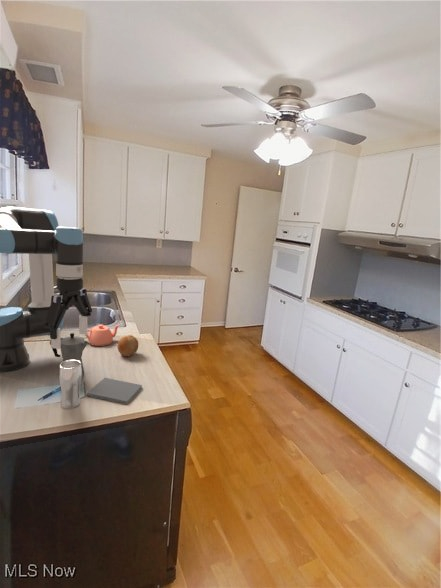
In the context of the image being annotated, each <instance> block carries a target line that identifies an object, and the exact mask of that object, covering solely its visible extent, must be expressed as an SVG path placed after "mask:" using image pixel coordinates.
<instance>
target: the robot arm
mask: <svg viewBox="0 0 441 588" xmlns="http://www.w3.org/2000/svg"><path fill="white" fill-rule="evenodd" d="M0 254H7V255H11V254H14V255H15V254H20V255H21V254H24V255H25V254H27V255H28V261H29V262H28V263H29V264H28V265H29V276H30V277H29V279H30V294H31V301H30V302H31V303H29V304H28V305H27V310H23V308H22V307H20V306H19V307H18V306H16V307H15V306H11V307H3V308H0V372H1V373H3V372H10V371H11V372H12V371H15V370H19V369H21V368H24V367H25V366H27V365H28V364H30V362H31V360H30V359H31V358H30V353H28V349H27V348H26V346H25V339H30V338H37V337H39V338H40V337H45V336H49V338H50V340H51V345H50V348H51V349H52V348H56V349H57V350H61V340H60V338H61V333H62V330H63V327H64V324H65V322H64V321H65V314H66V312H67V310H69V309H70V308H71V307H73V306H74V307H75V308H76V310H77V311H78V312H79V314H80V315H78V323H79V324H78V334H79V335H84V336H85V335H87V334H88V331H87V329H88V324H89V323H88V322H89V321H88V320H89V319H88V317H91V316H92V313H93V308H92V306H91V302H90V300H89V297H88V291H87V289H86V288H84V278H83V276H84V270H83V269H84V268H83V267H84V265H83V264H84V233H83V229H81V228H79V227H74V226H73V227H72V226H59V222H58V219H57V216H56V214H55V213H54V212H53V211H52V210H47V209H40V208H27V207H16V206H5V207H1V208H0ZM53 255H55V256H56V261H55V275H56V277H57V278H56V289H57V290H58V291H59V294H58V295H55V287H54V285H55V284H54V270H53V269H54V268H53V265H54V264H53Z"/></svg>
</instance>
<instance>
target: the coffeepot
mask: <svg viewBox="0 0 441 588" xmlns="http://www.w3.org/2000/svg"><path fill="white" fill-rule="evenodd" d="M69 335H70V336H66V337H60V340H61V348H60V352H61V354H59V353H58V349H56V348H51V349H52V352H53V354H54V357H56V358H60V357H61V358H62V362H64V361H67V360H78V361H80V362H81V368H82V377H84V375H85V370H84V364H83V358H82V356H83V351H84V350H85V348H86V347H87V346H88V345H90V343H89V341H88V340H86V339H85V338H84V337H81V336H79V335H78V336H75V333H74V332H72V333H69ZM49 345H50V346H51V339H50V341H49Z"/></svg>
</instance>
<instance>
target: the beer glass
mask: <svg viewBox="0 0 441 588" xmlns="http://www.w3.org/2000/svg"><path fill="white" fill-rule="evenodd" d="M58 367H59V369H58V381H59V386H60V387H59V388H60V390H61V402H60V406H61V408H63V409H66V410H67V409H73V408H77V407H79V405H80V404H81V398H80V389H81V383H82V377H83V376H82V368H81V362H80V361H78V360H67V361H64V362H63V361H61V363H60V364H59V366H58Z"/></svg>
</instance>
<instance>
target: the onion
mask: <svg viewBox="0 0 441 588" xmlns="http://www.w3.org/2000/svg"><path fill="white" fill-rule="evenodd" d="M138 350H139V340H138V338H136V337H135V336H134V335H132V334H127V335H124V336H122V337H121V338H120V339H119V340H118V342H117V351H118V352H119V354H120V355H122V356H124V357H131V356H134V354H136V353H137V352H138Z"/></svg>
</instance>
